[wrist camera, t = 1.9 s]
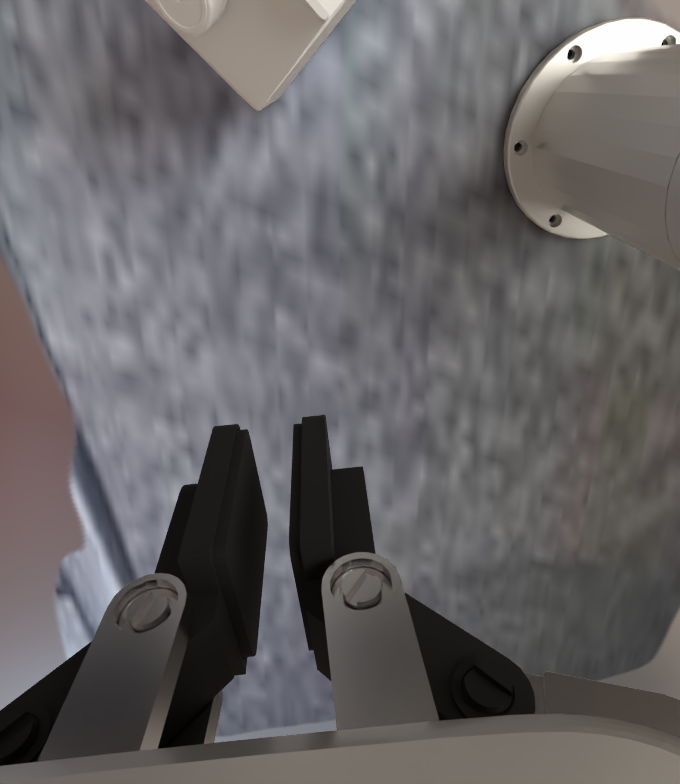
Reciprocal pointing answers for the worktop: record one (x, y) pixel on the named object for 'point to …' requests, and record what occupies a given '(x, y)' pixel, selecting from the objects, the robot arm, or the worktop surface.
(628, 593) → the worktop surface
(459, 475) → the worktop surface
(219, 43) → the milk carton
